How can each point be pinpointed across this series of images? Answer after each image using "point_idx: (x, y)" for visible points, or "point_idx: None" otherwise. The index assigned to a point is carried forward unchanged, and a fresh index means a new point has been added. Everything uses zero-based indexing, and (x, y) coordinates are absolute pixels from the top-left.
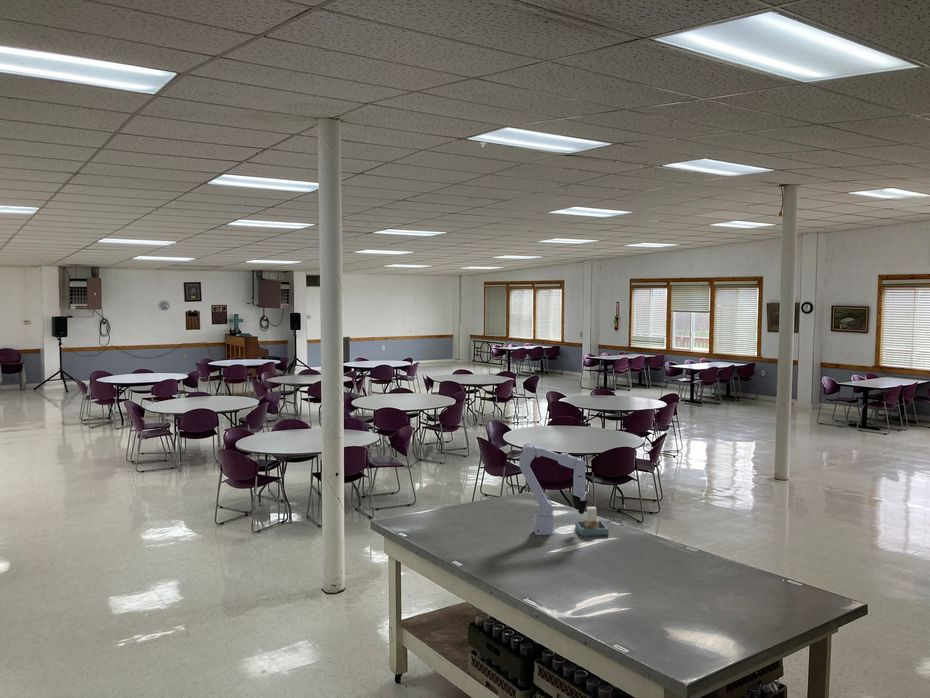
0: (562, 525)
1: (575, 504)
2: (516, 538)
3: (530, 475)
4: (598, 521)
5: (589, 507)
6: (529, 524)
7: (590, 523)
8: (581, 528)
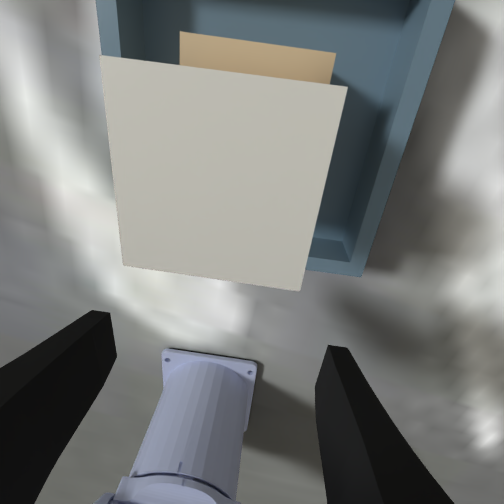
0: (78, 271)
1: (74, 424)
2: (265, 481)
3: None
4: (332, 61)
5: (183, 229)
6: None
7: None
8: (329, 266)
